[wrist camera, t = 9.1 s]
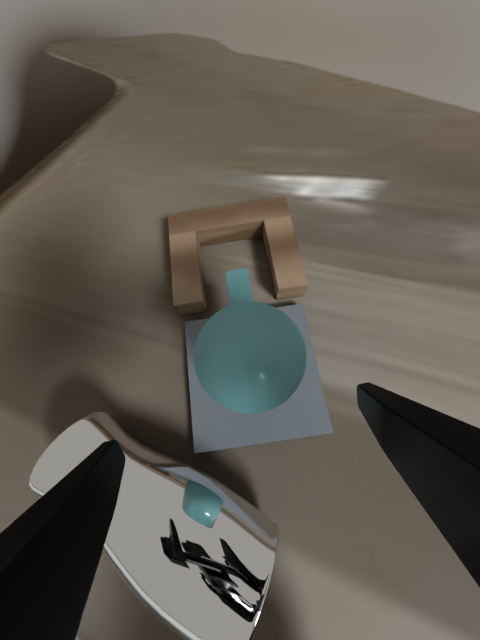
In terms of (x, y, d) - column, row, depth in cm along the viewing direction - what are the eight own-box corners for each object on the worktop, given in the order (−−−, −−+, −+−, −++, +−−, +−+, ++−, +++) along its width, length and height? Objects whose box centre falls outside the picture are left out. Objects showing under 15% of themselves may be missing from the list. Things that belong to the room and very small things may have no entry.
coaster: (329, 431, 20) (333, 432, 19) (197, 451, 20) (194, 453, 19) (300, 307, 23) (302, 303, 22) (187, 325, 24) (184, 321, 23)
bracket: (302, 296, 24) (307, 284, 21) (181, 315, 24) (173, 305, 22) (282, 213, 27) (285, 195, 25) (175, 231, 27) (167, 214, 25)
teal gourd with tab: (289, 401, 20) (318, 404, 10) (226, 411, 20) (198, 421, 11) (271, 307, 23) (281, 241, 13) (215, 316, 23) (185, 257, 13)
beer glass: (-12, 506, 13) (224, 727, 10) (88, 394, 17) (289, 530, 13) (61, 496, 19) (225, 633, 16) (124, 415, 23) (271, 513, 19)
